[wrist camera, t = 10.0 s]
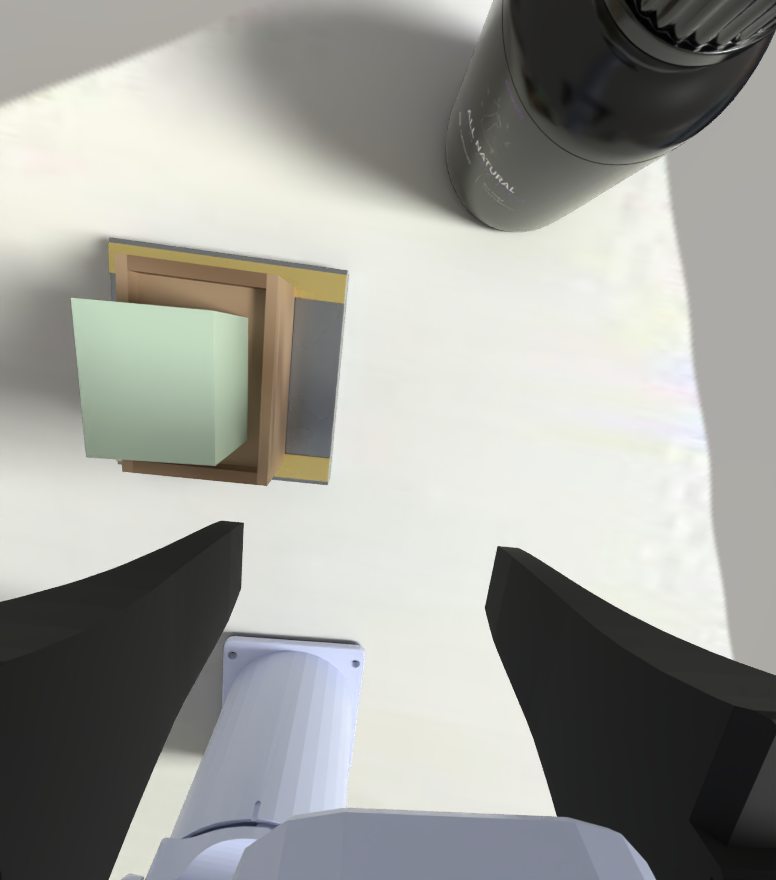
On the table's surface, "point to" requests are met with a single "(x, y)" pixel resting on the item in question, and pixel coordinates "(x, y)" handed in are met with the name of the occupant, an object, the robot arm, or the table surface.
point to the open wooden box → (268, 353)
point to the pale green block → (161, 381)
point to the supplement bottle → (591, 96)
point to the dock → (310, 352)
